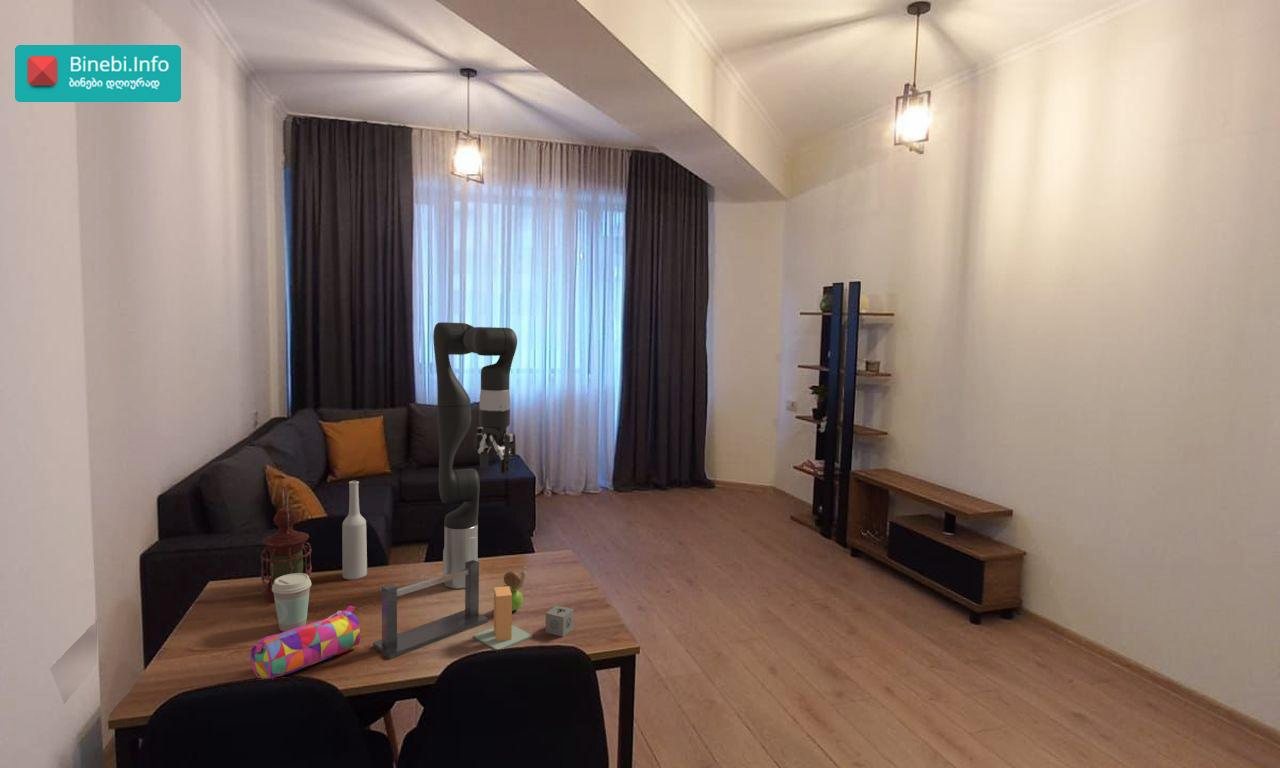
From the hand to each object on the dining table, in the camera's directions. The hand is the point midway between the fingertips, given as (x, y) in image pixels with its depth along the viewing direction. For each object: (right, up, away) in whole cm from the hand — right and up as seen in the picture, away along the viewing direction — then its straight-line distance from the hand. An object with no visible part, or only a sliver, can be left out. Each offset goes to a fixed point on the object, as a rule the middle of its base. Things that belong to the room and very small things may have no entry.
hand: (494, 470), depth 166 cm
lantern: (-59, -36, +12) cm, 70 cm away
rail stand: (-13, -39, -7) cm, 41 cm away
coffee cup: (-48, -38, -5) cm, 61 cm away
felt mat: (+4, -39, -7) cm, 40 cm away
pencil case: (-36, -40, -21) cm, 58 cm away
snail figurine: (+4, -38, +7) cm, 39 cm away
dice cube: (+17, -39, -3) cm, 43 cm away
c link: (+4, -39, -7) cm, 40 cm away
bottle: (-47, -35, +27) cm, 64 cm away
